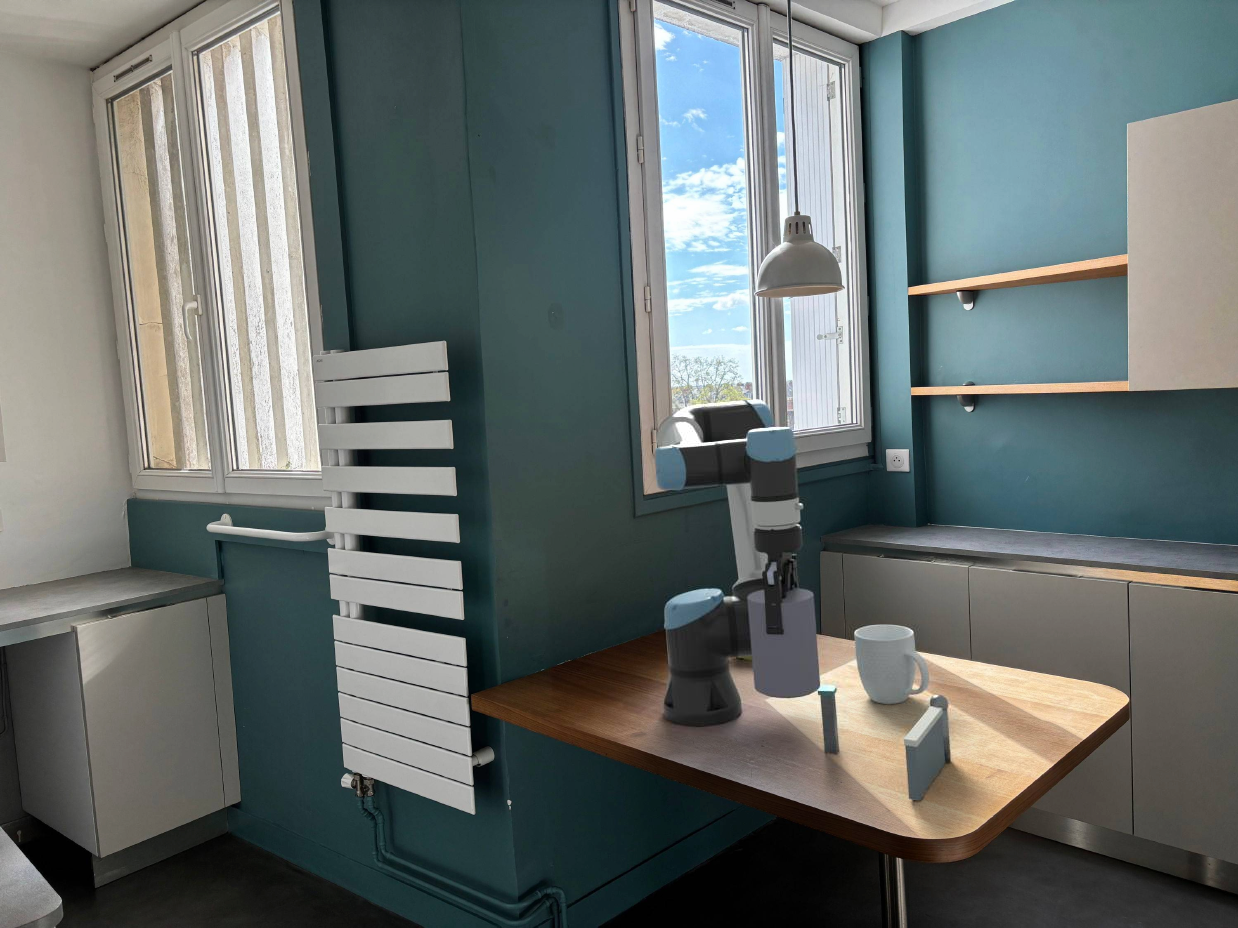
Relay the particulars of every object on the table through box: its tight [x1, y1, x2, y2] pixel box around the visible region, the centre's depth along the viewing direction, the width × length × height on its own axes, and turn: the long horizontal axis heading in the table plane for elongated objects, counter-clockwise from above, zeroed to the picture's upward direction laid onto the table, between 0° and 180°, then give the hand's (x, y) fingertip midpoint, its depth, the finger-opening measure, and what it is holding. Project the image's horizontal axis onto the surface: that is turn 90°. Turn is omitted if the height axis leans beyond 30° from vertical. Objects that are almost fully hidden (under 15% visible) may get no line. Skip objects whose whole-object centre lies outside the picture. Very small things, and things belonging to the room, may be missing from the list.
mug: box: [853, 624, 930, 705], centre depth 164 cm, size 15×11×13 cm
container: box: [747, 587, 821, 699], centre depth 137 cm, size 10×10×15 cm
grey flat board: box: [903, 705, 946, 802], centre depth 130 cm, size 14×2×9 cm, turn 145°
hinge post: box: [929, 694, 952, 765], centre depth 137 cm, size 3×3×11 cm
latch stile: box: [817, 684, 840, 755], centre depth 145 cm, size 3×3×11 cm
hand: (788, 666), depth 139 cm, fingers closed on container, 7 cm apart
